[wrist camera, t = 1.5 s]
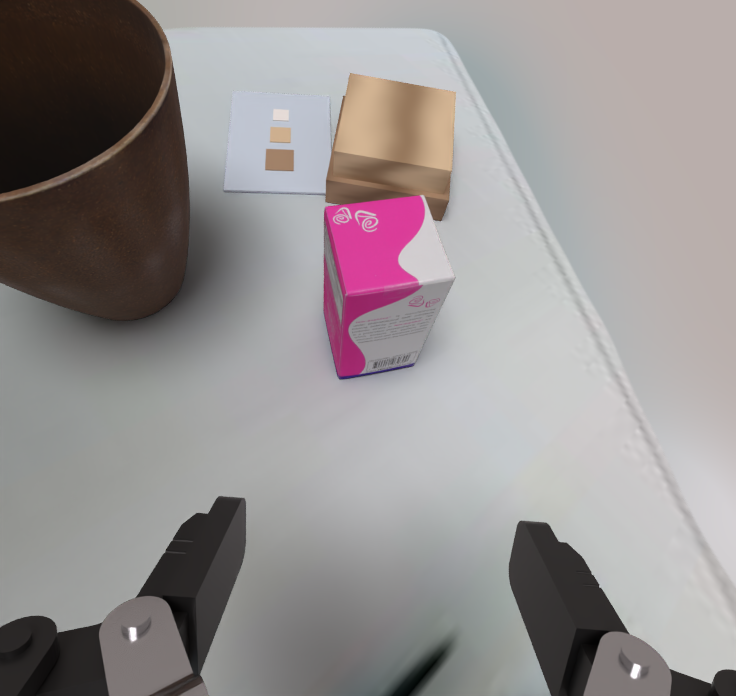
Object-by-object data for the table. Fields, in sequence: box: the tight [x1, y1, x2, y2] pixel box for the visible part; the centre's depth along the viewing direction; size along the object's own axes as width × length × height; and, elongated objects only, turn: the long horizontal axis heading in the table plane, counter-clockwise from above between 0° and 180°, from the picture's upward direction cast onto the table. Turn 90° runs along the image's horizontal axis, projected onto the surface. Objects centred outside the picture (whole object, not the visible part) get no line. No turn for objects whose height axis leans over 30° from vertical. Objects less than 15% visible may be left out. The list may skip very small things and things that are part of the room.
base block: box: [325, 73, 456, 221], centre depth 37 cm, size 10×10×5 cm
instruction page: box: [224, 91, 331, 195], centre depth 40 cm, size 9×12×1 cm
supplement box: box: [324, 195, 455, 379], centre depth 28 cm, size 6×6×12 cm
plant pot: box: [0, 0, 190, 321], centre depth 25 cm, size 15×15×16 cm
